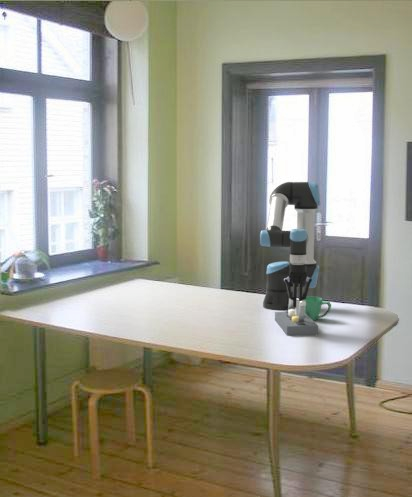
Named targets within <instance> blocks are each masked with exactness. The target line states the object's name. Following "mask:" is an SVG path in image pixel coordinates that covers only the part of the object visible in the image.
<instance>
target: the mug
mask: <svg viewBox="0 0 412 497" xmlns="http://www.w3.org/2000/svg"><path fill="white" fill-rule="evenodd" d="M303 300H304V301H305V302H306V306H305V313H306V314H307V315H308V316H309V317H310V318H311V319H312V320H313V321H316V320H318V319H321V318H324V317H325V316H327V315H328V314H329V313H330V312H331V309H332V308H331V307H332V303H331V302H330V301H327V300H325V301H323V298H322V297H320V296H307V297H306V299H303ZM322 305H327V306H328V307H327V310H326V311H325V312H324V314H321V315H320V313H321V309H322Z"/></svg>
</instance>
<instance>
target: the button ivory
mask: <svg viewBox="0 0 412 497" xmlns="http://www.w3.org/2000/svg"><path fill="white" fill-rule="evenodd" d="M287 311H288V318H292V316H298V315H296V314H295V308H294V309H289V310H288V309H287Z"/></svg>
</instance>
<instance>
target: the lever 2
mask: <svg viewBox="0 0 412 497" xmlns="http://www.w3.org/2000/svg"><path fill="white" fill-rule="evenodd" d="M305 306H306V302H305V301H304V300H302V301H300V302H299V314H298V323H300V322H304V314H305Z"/></svg>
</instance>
